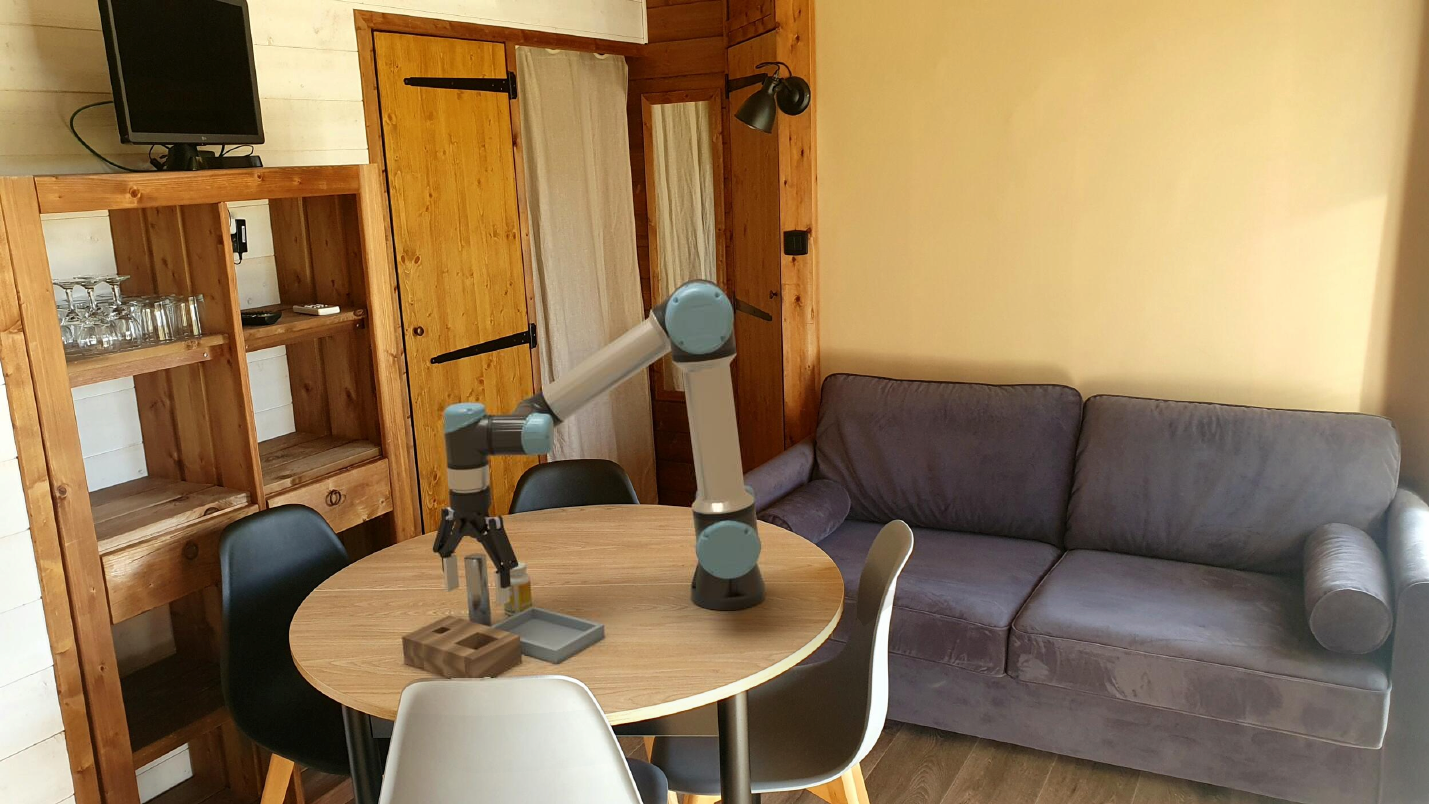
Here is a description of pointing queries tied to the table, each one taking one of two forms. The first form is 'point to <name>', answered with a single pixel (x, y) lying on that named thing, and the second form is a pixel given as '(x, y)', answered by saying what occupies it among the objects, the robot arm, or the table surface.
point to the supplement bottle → (519, 590)
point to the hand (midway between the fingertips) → (477, 596)
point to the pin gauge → (477, 589)
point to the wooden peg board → (461, 649)
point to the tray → (551, 633)
